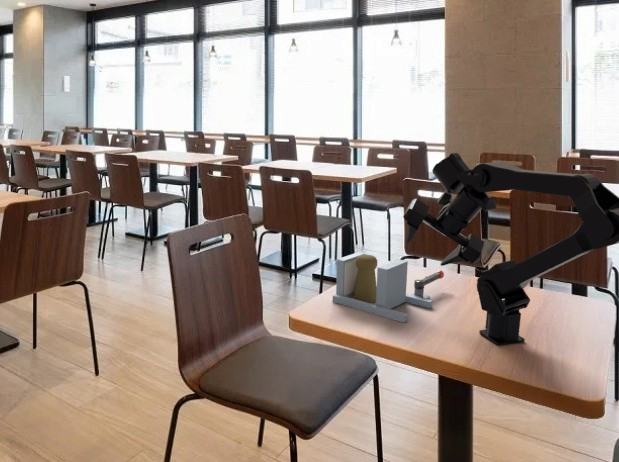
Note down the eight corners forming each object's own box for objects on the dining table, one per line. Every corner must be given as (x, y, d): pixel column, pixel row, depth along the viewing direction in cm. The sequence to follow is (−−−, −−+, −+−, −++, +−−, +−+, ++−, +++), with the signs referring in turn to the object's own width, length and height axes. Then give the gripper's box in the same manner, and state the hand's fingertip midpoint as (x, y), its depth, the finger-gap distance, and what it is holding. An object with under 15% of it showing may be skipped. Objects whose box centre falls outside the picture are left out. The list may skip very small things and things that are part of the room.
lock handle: (421, 290, 129) (421, 282, 128) (412, 288, 130) (412, 280, 130) (445, 278, 138) (446, 270, 138) (437, 276, 140) (437, 268, 139)
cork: (377, 295, 133) (379, 252, 130) (378, 304, 127) (379, 259, 124) (353, 294, 133) (354, 251, 131) (352, 303, 127) (353, 258, 125)
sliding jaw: (405, 301, 128) (407, 261, 126) (385, 311, 121) (387, 269, 119) (395, 298, 130) (397, 259, 127) (375, 309, 123) (376, 267, 121)
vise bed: (441, 301, 129) (443, 261, 127) (403, 322, 116) (405, 278, 114) (371, 283, 142) (373, 247, 140) (331, 300, 129) (331, 260, 126)
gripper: (505, 212, 119) (464, 255, 129) (434, 167, 119) (399, 213, 130) (498, 241, 110) (456, 284, 121) (422, 192, 111) (386, 239, 122)
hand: (424, 253), depth 124 cm, fingers open, 9 cm apart
